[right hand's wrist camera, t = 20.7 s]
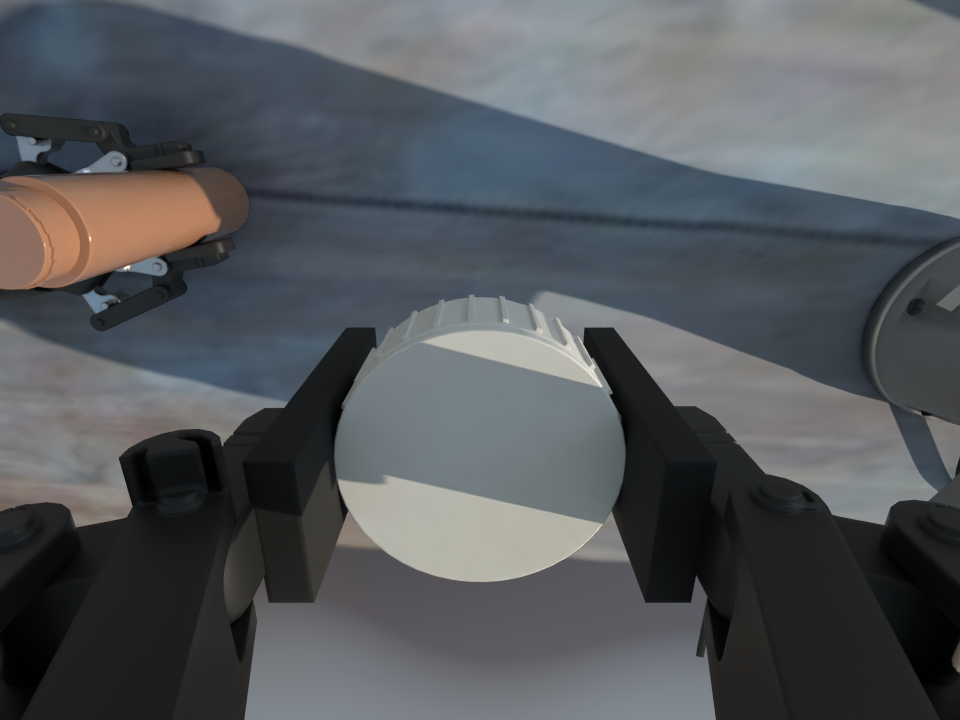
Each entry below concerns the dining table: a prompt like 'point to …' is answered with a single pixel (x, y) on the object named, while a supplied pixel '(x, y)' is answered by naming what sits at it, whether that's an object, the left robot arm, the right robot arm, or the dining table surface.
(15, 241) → the brown tube
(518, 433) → the lid
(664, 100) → the dining table surface
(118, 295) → the left robot arm
